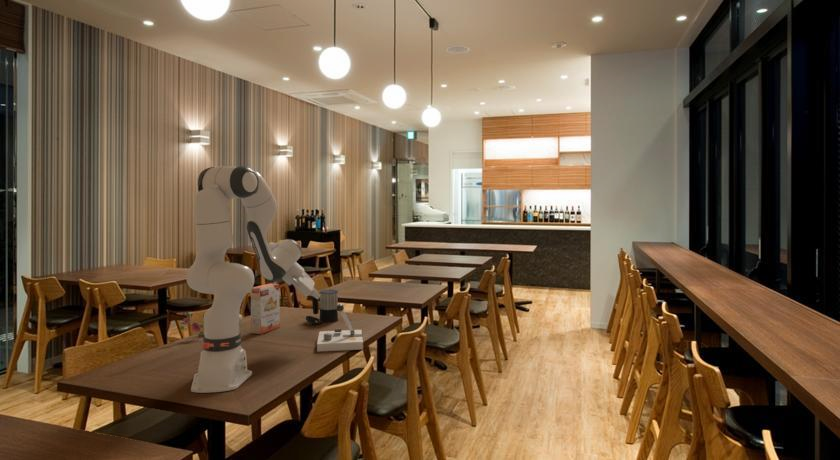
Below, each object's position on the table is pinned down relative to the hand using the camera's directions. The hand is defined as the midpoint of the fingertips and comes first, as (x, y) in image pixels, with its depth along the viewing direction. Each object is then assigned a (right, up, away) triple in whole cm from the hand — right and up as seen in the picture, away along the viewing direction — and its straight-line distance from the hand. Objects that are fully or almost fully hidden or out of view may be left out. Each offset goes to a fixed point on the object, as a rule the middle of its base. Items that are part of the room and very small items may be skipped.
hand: (319, 297), depth 214 cm
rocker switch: (+7, -15, +6) cm, 18 cm away
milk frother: (-6, -17, +41) cm, 45 cm away
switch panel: (+8, -19, +2) cm, 21 cm away
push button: (+4, -16, -3) cm, 17 cm away
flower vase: (-52, -19, +23) cm, 60 cm away
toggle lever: (+13, -15, +2) cm, 20 cm away
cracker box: (-29, -19, +25) cm, 43 cm away
